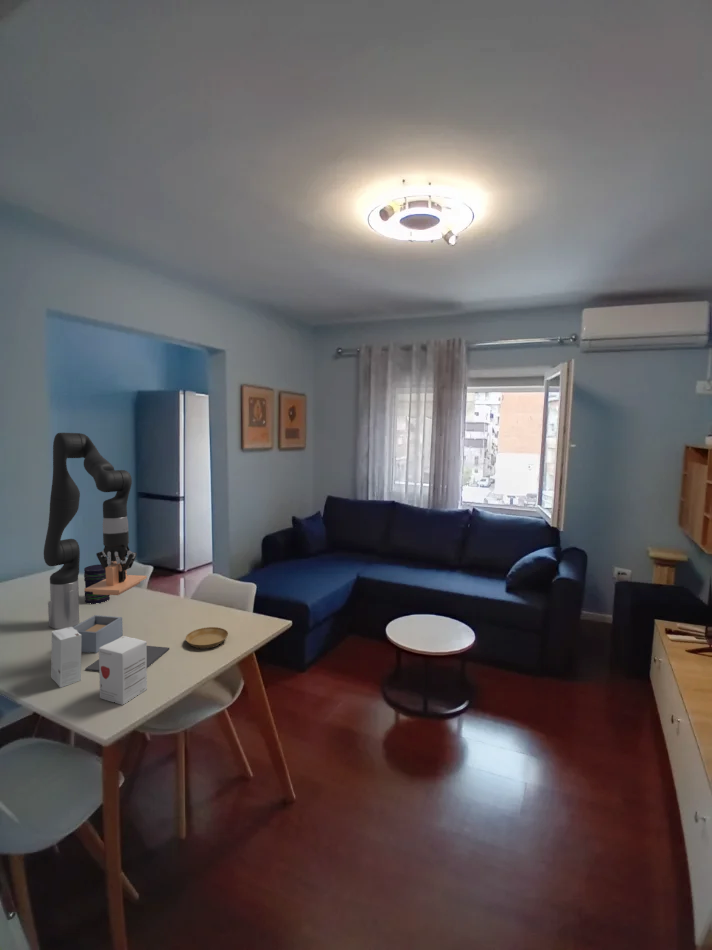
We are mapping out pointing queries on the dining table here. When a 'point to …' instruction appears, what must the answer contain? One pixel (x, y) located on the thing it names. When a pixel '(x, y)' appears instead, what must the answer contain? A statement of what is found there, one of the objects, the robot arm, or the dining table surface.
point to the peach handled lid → (114, 582)
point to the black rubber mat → (152, 656)
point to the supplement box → (123, 669)
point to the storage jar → (92, 577)
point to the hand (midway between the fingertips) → (117, 581)
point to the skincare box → (66, 656)
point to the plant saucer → (206, 637)
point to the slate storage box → (99, 632)
